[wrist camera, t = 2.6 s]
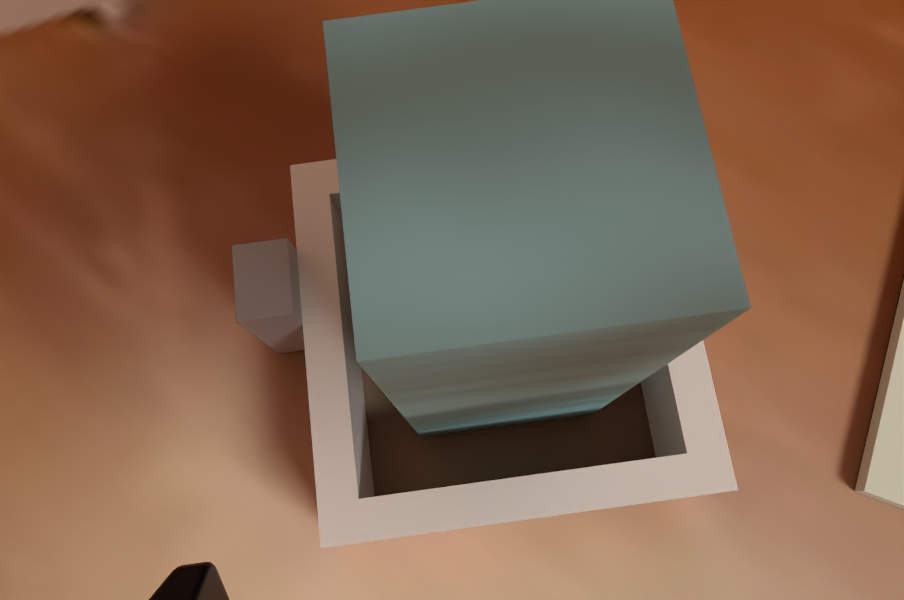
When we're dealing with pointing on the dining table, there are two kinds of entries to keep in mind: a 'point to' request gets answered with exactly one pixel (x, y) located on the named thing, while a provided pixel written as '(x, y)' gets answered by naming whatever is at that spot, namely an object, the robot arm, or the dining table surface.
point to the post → (524, 206)
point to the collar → (344, 413)
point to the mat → (887, 426)
